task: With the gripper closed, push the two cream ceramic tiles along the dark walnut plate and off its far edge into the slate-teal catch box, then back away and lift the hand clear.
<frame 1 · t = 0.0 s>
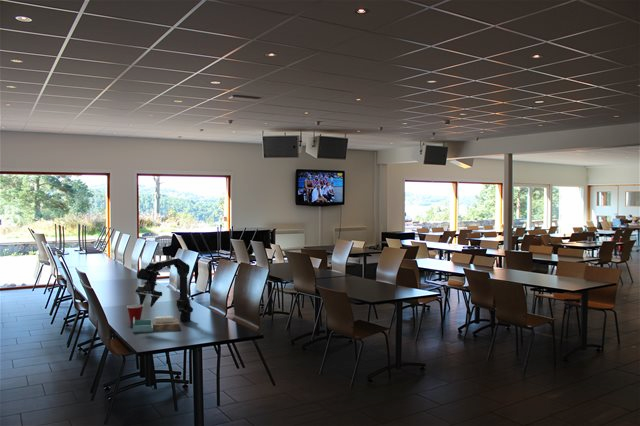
hand: (146, 305, 336), 15 cm above the table, tool pointing down, fingers open, 9 cm apart
tile 1: (159, 321, 343), point 4 cm above the table, touching walnut plate
rear tile: (168, 321, 344), point 4 cm above the table, touching walnut plate
walnut plate: (165, 327, 344), on the table
plastic cup: (134, 323, 355), on the table
catch box: (142, 328, 339), on the table
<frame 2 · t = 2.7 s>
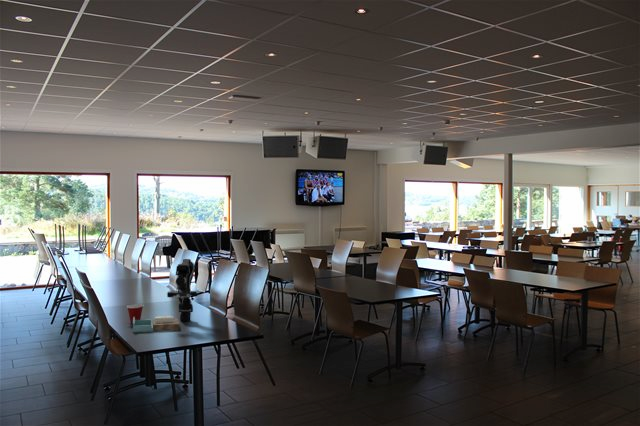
hand: (181, 307, 347), 13 cm above the table, tool pointing down, fingers closed
nothing on the table moved.
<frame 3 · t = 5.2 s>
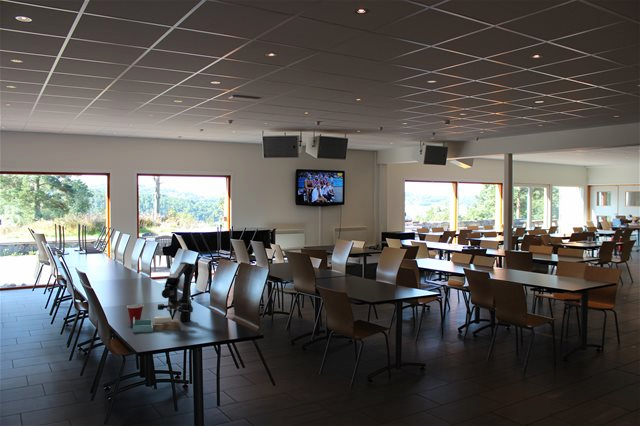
hand: (172, 319, 345), 5 cm above the table, tool pointing down, fingers closed
tile 1: (158, 321, 342), point 4 cm above the table, touching rear tile, walnut plate
rear tile: (166, 321, 344), point 4 cm above the table, touching tile 1, gripper, walnut plate
everything else where it was.
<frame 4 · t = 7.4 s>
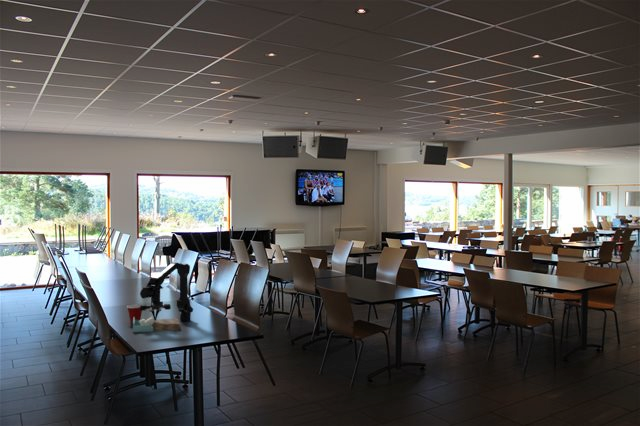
hand: (155, 320, 342), 5 cm above the table, tool pointing down, fingers closed
tile 1: (145, 322, 340), point 4 cm above the table, tilted 122°, touching catch box, rear tile
rear tile: (151, 323, 341), point 3 cm above the table, tilted 32°, touching tile 1, gripper
everything else where it was.
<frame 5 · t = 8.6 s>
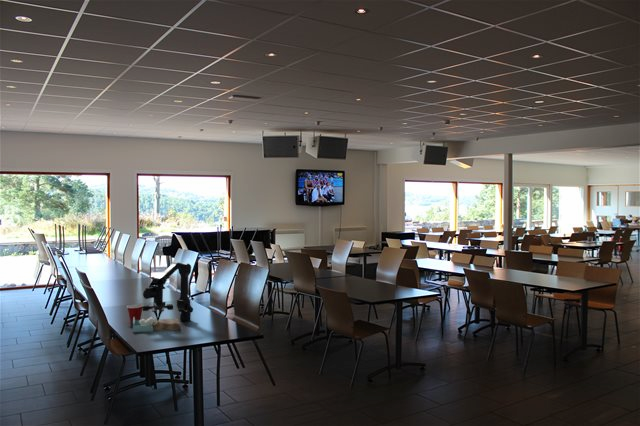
hand: (157, 320, 342), 5 cm above the table, tool pointing down, fingers closed
rear tile: (151, 323, 341), point 3 cm above the table, tilted 32°, touching tile 1, walnut plate
everything else where it was.
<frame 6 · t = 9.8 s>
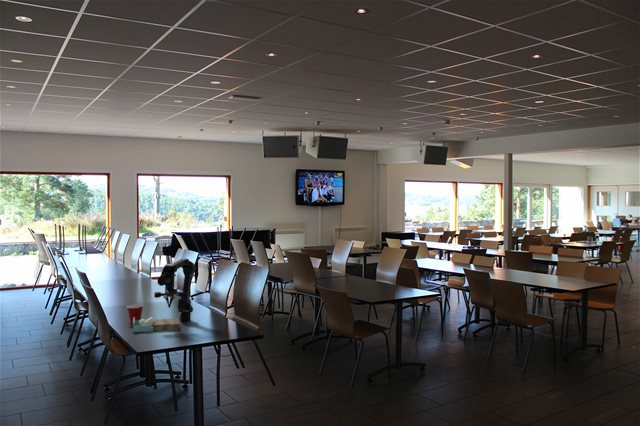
hand: (169, 307, 344), 13 cm above the table, tool pointing down, fingers closed
nothing on the table moved.
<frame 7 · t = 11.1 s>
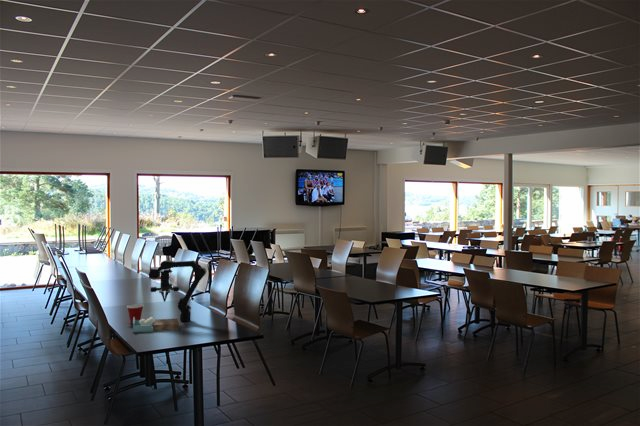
hand: (164, 301, 364), 13 cm above the table, tool pointing down, fingers closed
nothing on the table moved.
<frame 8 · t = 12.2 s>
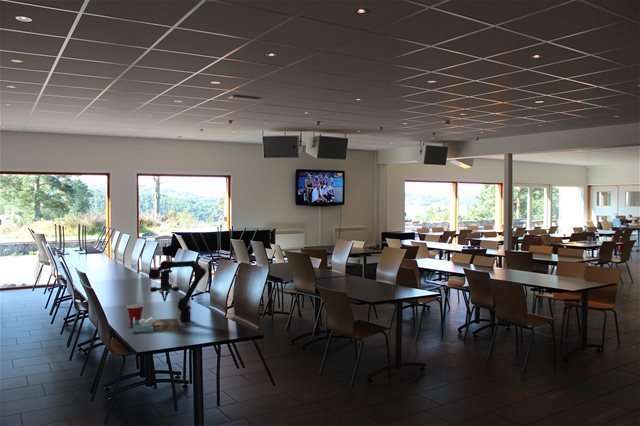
hand: (164, 301, 364), 13 cm above the table, tool pointing down, fingers closed
nothing on the table moved.
at the end: tile 1 inside the target area (2.0 cm from its centre), point 4.2 cm above the table; rear tile inside the target area (5.4 cm from its centre), point 3.4 cm above the table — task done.
